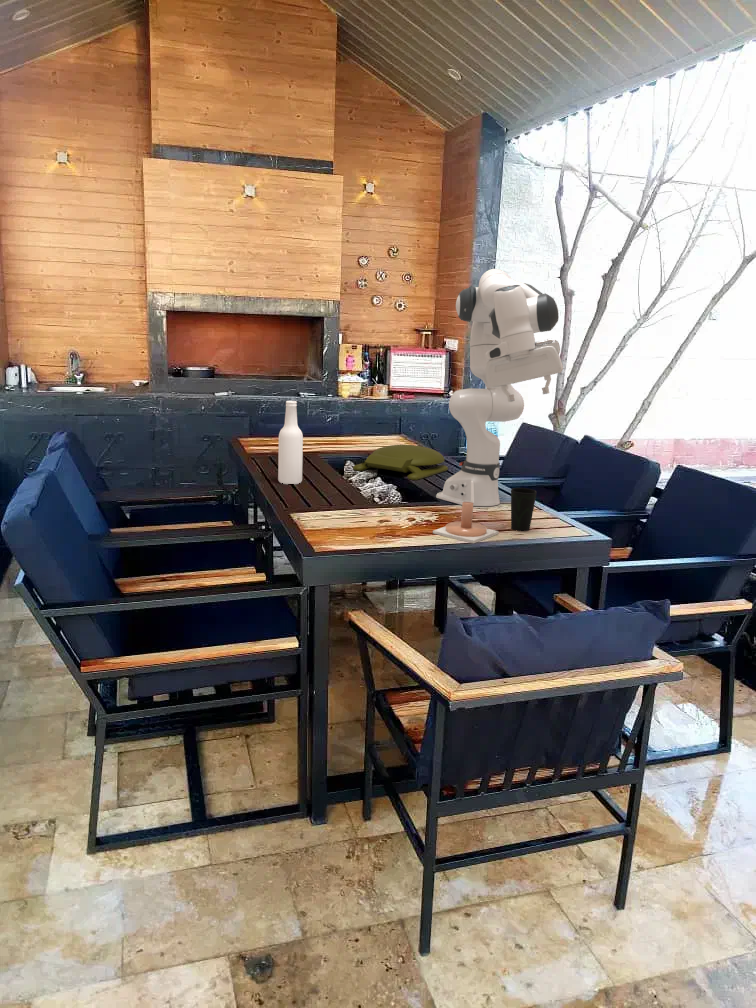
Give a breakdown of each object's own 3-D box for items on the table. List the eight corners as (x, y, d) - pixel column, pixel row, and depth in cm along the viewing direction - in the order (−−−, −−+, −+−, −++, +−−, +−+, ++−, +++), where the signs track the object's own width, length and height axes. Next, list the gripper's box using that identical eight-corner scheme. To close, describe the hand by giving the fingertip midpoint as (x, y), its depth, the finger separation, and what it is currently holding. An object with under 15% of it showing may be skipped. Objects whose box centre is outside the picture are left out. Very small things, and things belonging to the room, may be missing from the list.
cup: (537, 531, 230) (541, 493, 227) (514, 532, 228) (518, 493, 225) (525, 525, 237) (529, 487, 234) (503, 525, 235) (506, 487, 232)
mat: (432, 533, 223) (432, 530, 223) (458, 524, 234) (458, 522, 234) (473, 543, 215) (473, 540, 215) (498, 533, 226) (498, 531, 226)
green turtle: (416, 482, 294) (417, 457, 291) (350, 471, 309) (350, 447, 307) (456, 469, 323) (458, 446, 320) (394, 459, 338) (395, 437, 336)
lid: (437, 530, 223) (439, 502, 221) (459, 523, 232) (461, 496, 230) (472, 539, 216) (474, 510, 214) (493, 531, 225) (496, 503, 223)
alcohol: (299, 479, 287) (300, 399, 280) (304, 484, 279) (305, 402, 272) (276, 480, 285) (277, 399, 278) (280, 485, 277) (281, 402, 270)
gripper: (559, 337, 201) (569, 388, 203) (485, 355, 209) (495, 405, 211) (555, 336, 196) (566, 389, 197) (479, 355, 204) (489, 406, 205)
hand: (528, 397), depth 204 cm, fingers open, 8 cm apart
